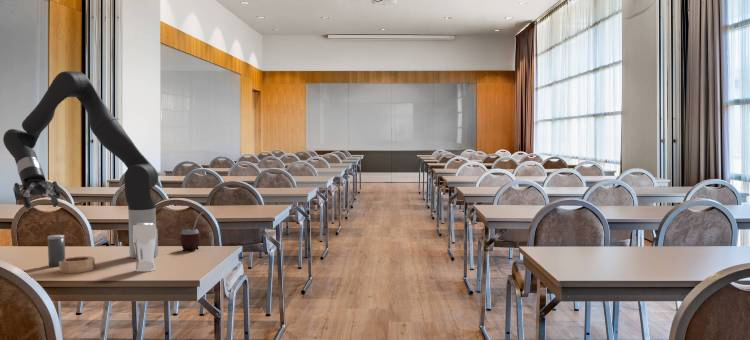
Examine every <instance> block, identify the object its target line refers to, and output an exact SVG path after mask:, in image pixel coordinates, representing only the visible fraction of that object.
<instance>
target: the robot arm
mask: <svg viewBox="0 0 750 340" xmlns="http://www.w3.org/2000/svg"><path fill="white" fill-rule="evenodd" d="M67 98H76V99H77V100H78V101H79V102H80V103H81V105H82V106H83V107H84V109H85V111H86V113H87V117H88V125H89V127H90V130H91V132H92V133H93V134H94V136H95V138H96V139H97V140H98V141H99V142H100V144H101V145H102V146H103V147H104V148H105V149H106V150H108V151H109V152H110V153H111V154H113V155H114V156H116V157H117V158H118V159H119V160H120V161H121V162H122V163H123V164H124V165H125V167H126V168H127V169H126V171H125V172H124V173H125V174H124V180H123V181H124V195H125V201H126V203H127V207H128V208H127V211H128V237H129V238H128V240H129V241H128V242H129V245H128V246H129V257H130V258H131V259H136V253H135V249H134V244H133V224H136V223H145V222H152V223H155V229H156V245H155V252H154V258H155V257H157V256H158V255H159V245H158V244H159V241H158V240H159V239H158V228H157V216H156V215H157V214H156V213H157V210H156V201H155V200H154V199H153V197H152V194H151V189H152V188H154V187H156V185H157V184H158V182H159V174H158V171H157V170H156V168H155V167H154V165H152V163H151V162H150V161H149V160H148V158H146V157H145V156H144V155H143V153H141V151H140V150H139V149H138V147H137V146H136V145H135V143H134V142H133V140H132V139H131V138H130V136H129V135H128V133H127V132H126V131H125V129H124V128H123V126H122V125H121V124H120V123H119V121H118V119H117V118H116V117H115V116H114V115H113V113H112V112H111V111H110V109H109V108H108V106H107V105H106V104H105V103H104V101H103V99H102V98H101V97H100V95H99V94H98V92H97V90H96V88H95V87H94V85H93V83H92V82H91V80H90V78H88V76H87V75H86V74H84V73H83V72H81V71H70V70H69V71H68V70H67V71H65V70H64V71H61V72H59V73H57V75H56V76H55V77H54V79H53V80H52V81H51V84H50V85H49V87H48V88H47V90H46V91H45V93H44V95H43V96H42V98H41V100H40V101H39V102H38V103H37V105H36V106H35V108H34V109H33V110H32V111H31V112H30V113H29V114H28V115H27V116H26V117H25V119H24V120H23V121H22V123H21V128H22V129H23V130H19V129H14V128H10V129H8V130H6V131H5V132H4V135H3V138H2V141H3V145H4V146H5V148H6V149H7V151H8V153H10V155H11V156H12V157H13V158H14V162H15V165H16V167H17V169H16V170H17V173H18V174H17V175H19V179H20V182H21V184H19V183H18V182H15V183H14V184H13V185H14V186H13V188H12V189H13V190H12V191H13V194H14V197H15V200H16V201H22V203H23V206H24V208H26V209H27V210H28V209H31V206H32V205H31V201H30V199H29V198H30V196H31V195H32V196H42V195H43V196H44V197H46V198H49V199H50V201H51V204H52V207H53V208H56V207H57V206H58V205H59V204H58V203H59V200H58V199H59V198H60V196H61V194H62V191H61V189H60V187H59V185H58V183H57V181H55V180H54V181H53V182H50V183H48V182H47V180H46V179H47V178H46V177H45V174H44V172H43V167H42V165H41V163H40V162H39V159H38V157H37V154H36V152H35V150H34V148H35V146H36V145H37V141H38V139H39V138H40V136H41V134H42V132H43V131H44V130H45V129H46V128H47V126H49V124H50V123H51V122H52V120H53V119H54V116H55V113H56V112H55V111H56V110H57V107H58V106H59V104H61V103H62V102H63V101H65V99H67ZM21 190H23V191H24V193H23V194H21Z"/></svg>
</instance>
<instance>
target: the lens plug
mask: <svg viewBox="0 0 750 340" xmlns="http://www.w3.org/2000/svg"><path fill="white" fill-rule="evenodd" d="M65 240H66V239H65V235H64V234H53V235H48V236H47V254H48V255H47V256H48V267H50V268H59V260H61V259H65V258H66V244H65Z"/></svg>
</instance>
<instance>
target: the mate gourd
mask: <svg viewBox="0 0 750 340" xmlns="http://www.w3.org/2000/svg"><path fill="white" fill-rule="evenodd" d="M204 212H205V210H204V211H202V212H200V213H199V214H198V215H197V216H196V218H195V222H194V224H193V228H184V229H182V231H181V233H180V243H181V248H182V252H189V251H188V250H190V252H195V251H196V250H195V249H199V248H200V247H199V245H200V241H201V240H200V239H201V234H200V231H199V230H198V229H197V228H196V226H197V222H198V220H199V218H200V216H201V215H202V214H203V213H204Z"/></svg>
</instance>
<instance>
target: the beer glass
mask: <svg viewBox="0 0 750 340" xmlns="http://www.w3.org/2000/svg"><path fill="white" fill-rule="evenodd" d="M133 244H134V249H135V253H136V258H135V259H136V264H135V268H134V270H135V272H136V273H145V272H148V273H149V272H153V271H155V270H156V269H157V268H156V264H155V263H156V262H155V257H154V252H155V245H156V229H155V223H152V222H145V223H136V224H133Z"/></svg>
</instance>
